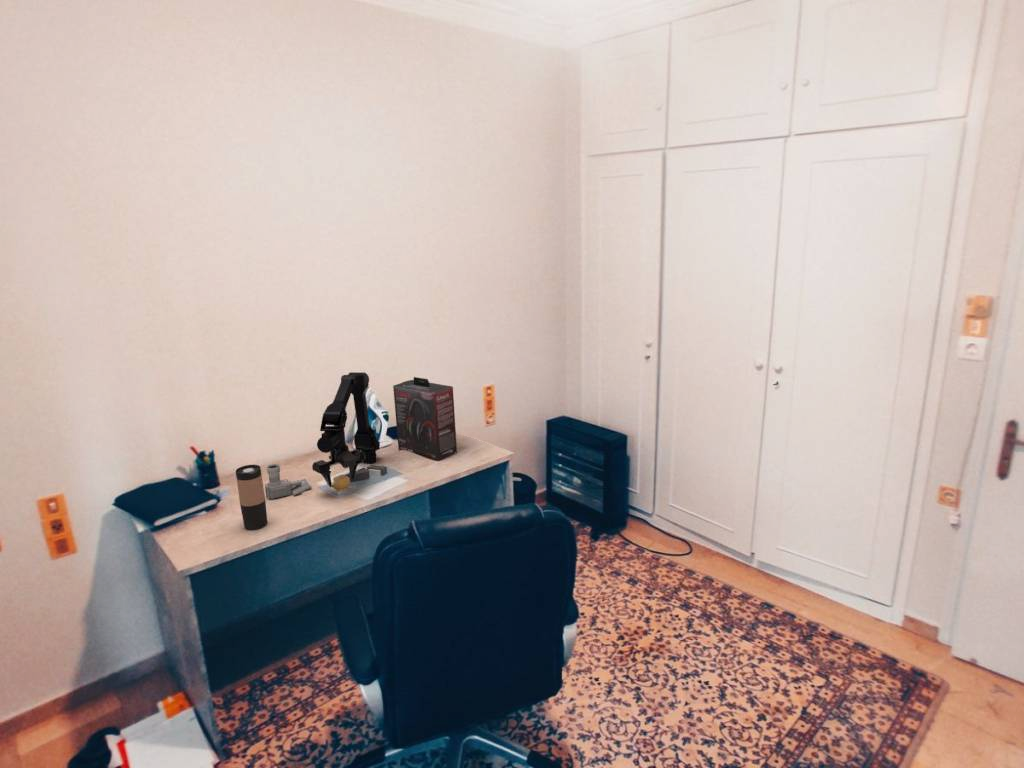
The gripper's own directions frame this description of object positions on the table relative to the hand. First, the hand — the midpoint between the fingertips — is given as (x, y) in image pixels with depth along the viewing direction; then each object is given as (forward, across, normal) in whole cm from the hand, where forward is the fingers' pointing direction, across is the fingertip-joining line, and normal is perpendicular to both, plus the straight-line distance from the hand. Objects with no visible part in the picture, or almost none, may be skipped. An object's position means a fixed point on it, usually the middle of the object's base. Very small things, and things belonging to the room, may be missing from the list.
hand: (341, 482), depth 227 cm
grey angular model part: (+4, -14, +15) cm, 21 cm away
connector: (+3, 0, 0) cm, 3 cm away
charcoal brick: (+3, +10, +3) cm, 10 cm away
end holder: (+3, 0, 0) cm, 3 cm away
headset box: (+4, +47, +9) cm, 48 cm away
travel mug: (+4, -33, -1) cm, 33 cm away
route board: (+4, +10, +2) cm, 10 cm away
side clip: (+4, +9, +4) cm, 11 cm away
